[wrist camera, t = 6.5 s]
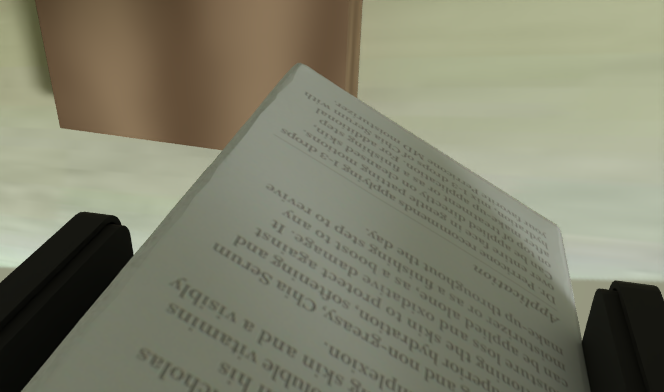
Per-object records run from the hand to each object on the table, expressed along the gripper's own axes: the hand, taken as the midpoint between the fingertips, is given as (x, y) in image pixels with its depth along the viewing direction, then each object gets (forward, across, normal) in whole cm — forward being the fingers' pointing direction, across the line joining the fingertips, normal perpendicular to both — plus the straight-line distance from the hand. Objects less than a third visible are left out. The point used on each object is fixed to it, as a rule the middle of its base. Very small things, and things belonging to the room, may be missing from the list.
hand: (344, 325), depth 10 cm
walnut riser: (+20, +10, 0) cm, 23 cm away
